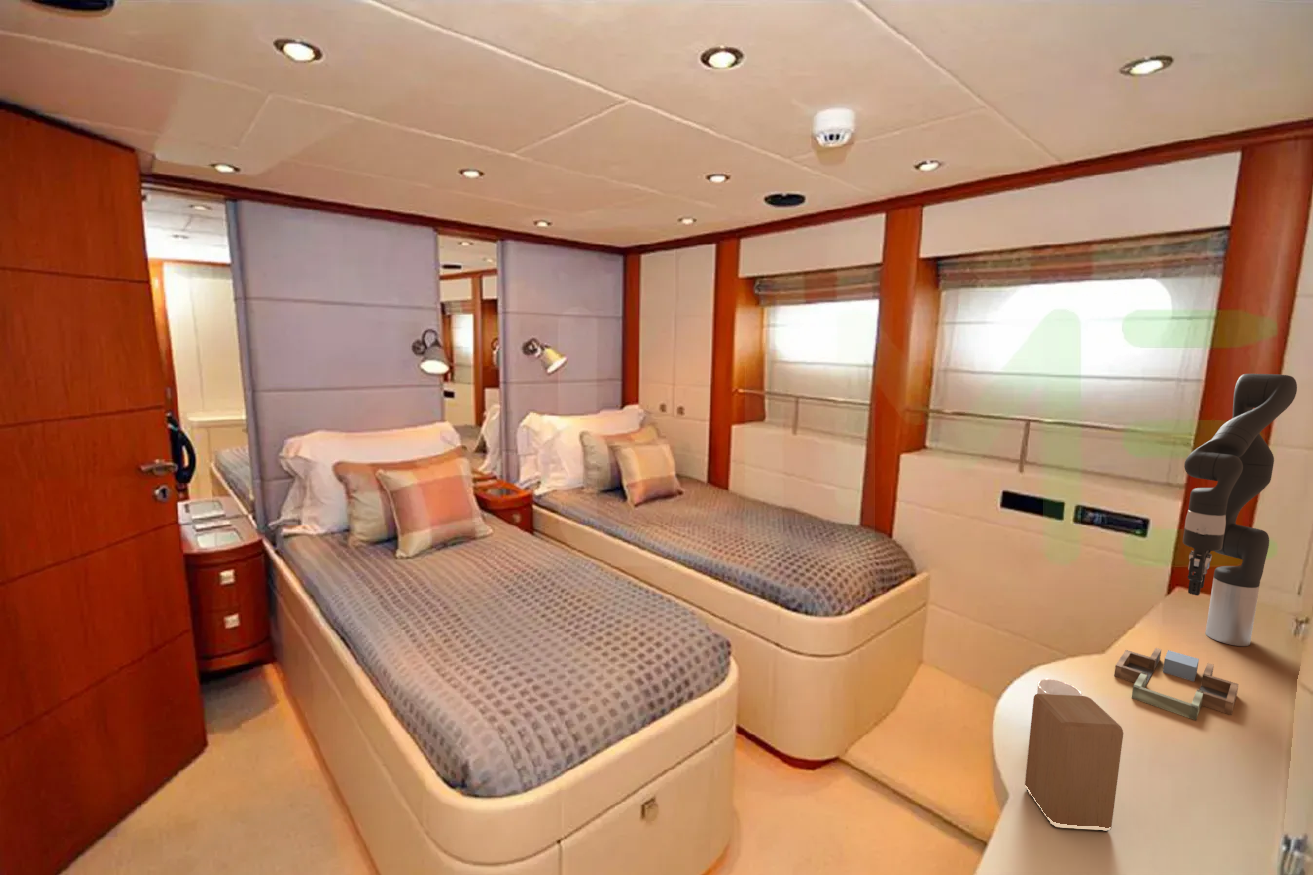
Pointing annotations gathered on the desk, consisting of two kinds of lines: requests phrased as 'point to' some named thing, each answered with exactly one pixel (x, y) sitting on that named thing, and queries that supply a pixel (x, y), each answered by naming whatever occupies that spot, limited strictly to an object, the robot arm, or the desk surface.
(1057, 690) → the white cup
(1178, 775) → the desk surface
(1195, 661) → the slate block
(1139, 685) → the box
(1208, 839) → the desk surface
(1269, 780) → the desk surface
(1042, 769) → the wooden block
